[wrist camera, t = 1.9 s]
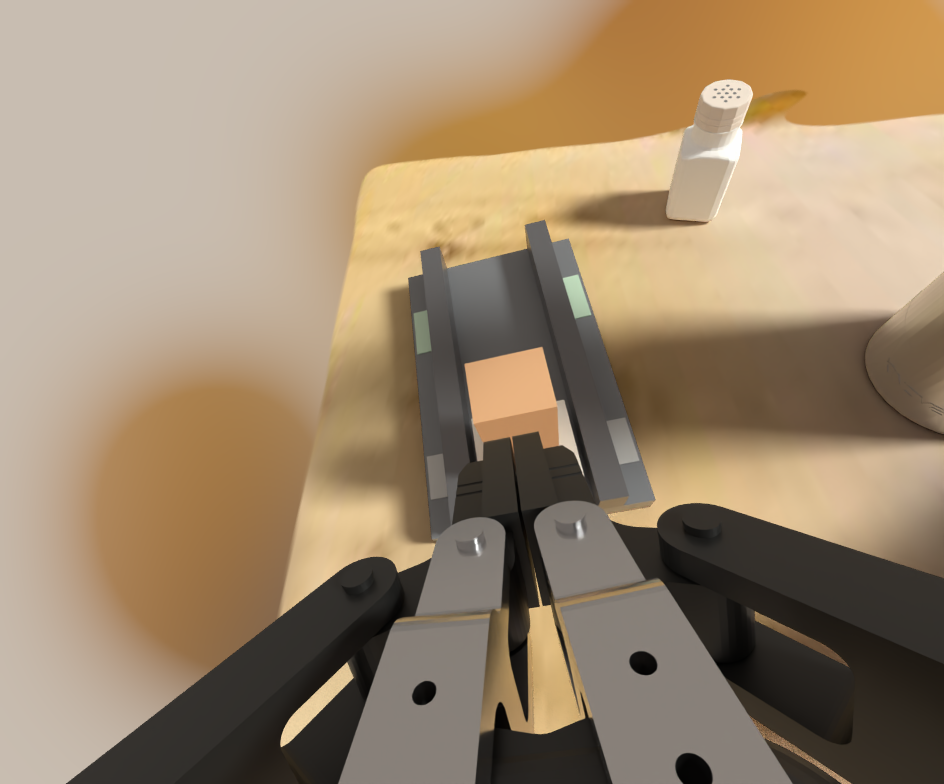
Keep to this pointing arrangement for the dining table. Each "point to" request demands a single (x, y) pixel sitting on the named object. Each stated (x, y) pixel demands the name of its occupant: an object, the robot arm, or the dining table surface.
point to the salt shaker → (709, 152)
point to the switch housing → (509, 331)
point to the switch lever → (516, 401)
